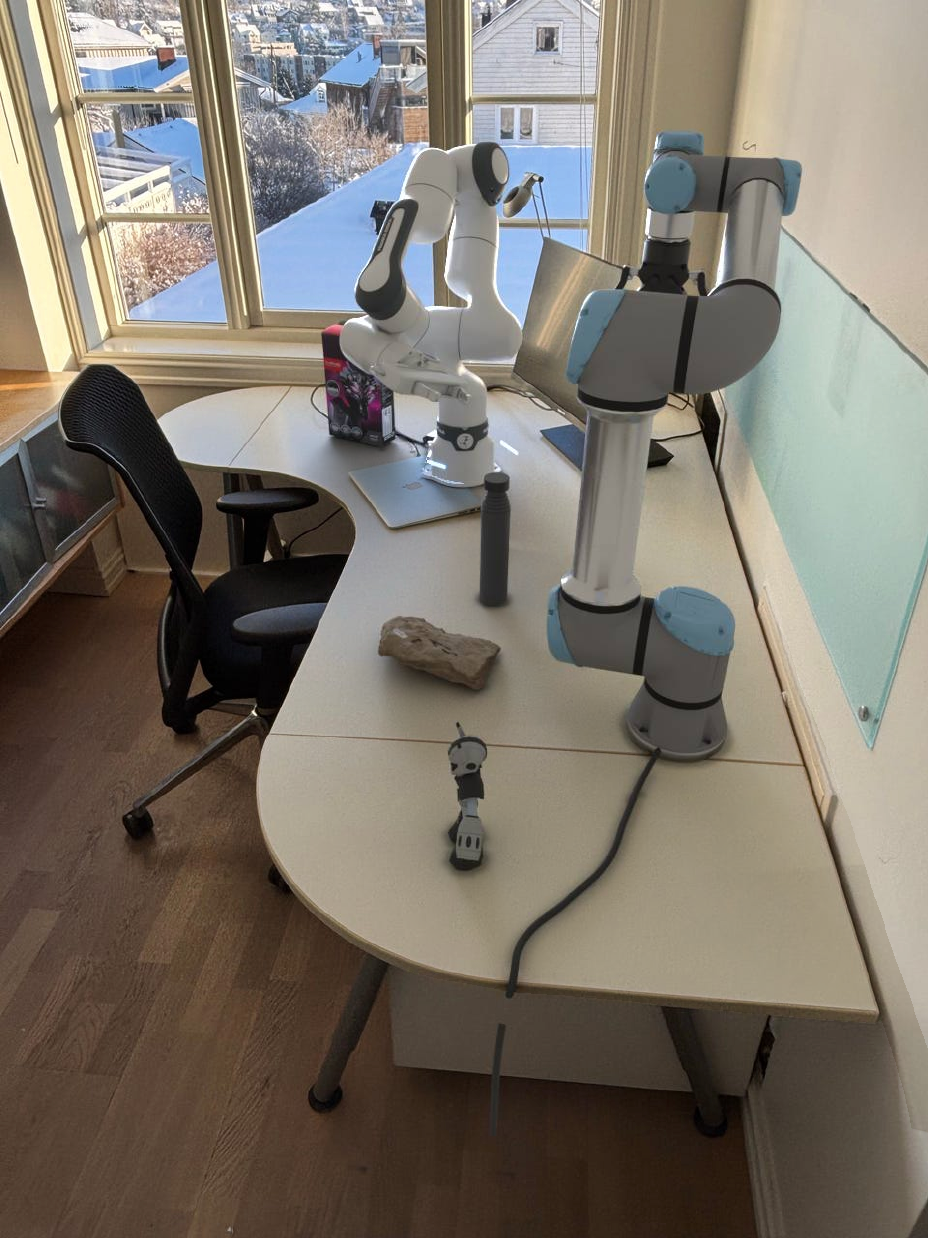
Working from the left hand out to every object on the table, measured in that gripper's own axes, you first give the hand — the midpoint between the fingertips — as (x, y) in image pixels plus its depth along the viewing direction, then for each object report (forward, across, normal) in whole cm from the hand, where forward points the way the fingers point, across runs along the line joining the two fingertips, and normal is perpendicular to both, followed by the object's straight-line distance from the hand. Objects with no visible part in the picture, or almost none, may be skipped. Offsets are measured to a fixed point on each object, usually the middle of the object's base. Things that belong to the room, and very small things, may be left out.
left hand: (453, 399), depth 172 cm
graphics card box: (-50, +37, +32) cm, 70 cm away
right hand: (+27, +14, -20) cm, 37 cm away
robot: (+62, -47, +38) cm, 87 cm away
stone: (+31, -21, +35) cm, 51 cm away
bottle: (+24, +1, +29) cm, 38 cm away
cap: (+20, -7, +6) cm, 22 cm away
